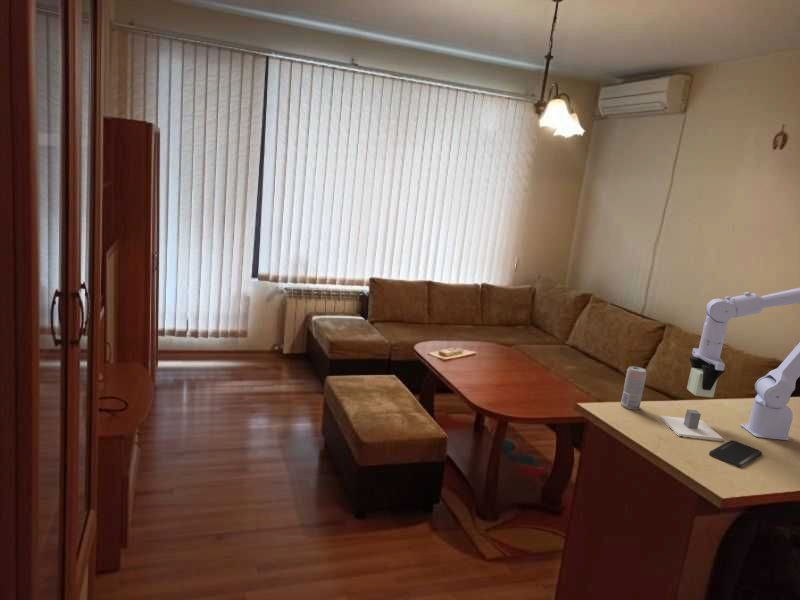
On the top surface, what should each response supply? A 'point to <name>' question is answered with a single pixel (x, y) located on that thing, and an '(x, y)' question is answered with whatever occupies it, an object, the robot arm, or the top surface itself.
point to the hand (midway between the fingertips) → (701, 385)
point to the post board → (691, 432)
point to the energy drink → (633, 387)
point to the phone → (735, 453)
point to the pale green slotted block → (699, 384)
